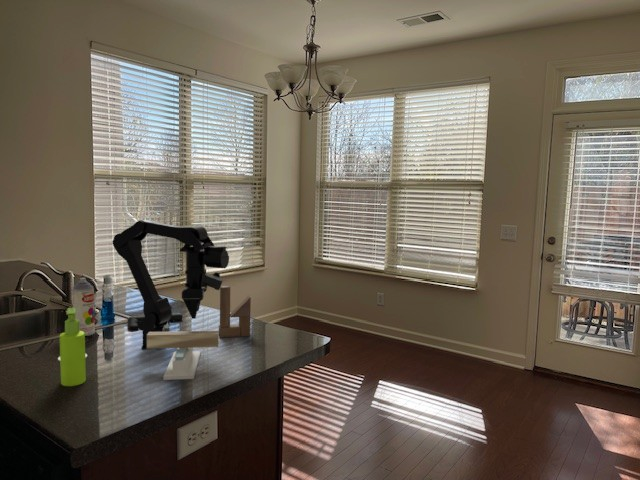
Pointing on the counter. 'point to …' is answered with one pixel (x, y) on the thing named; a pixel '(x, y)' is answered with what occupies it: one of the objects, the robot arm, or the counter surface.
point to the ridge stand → (182, 364)
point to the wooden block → (233, 315)
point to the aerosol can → (84, 306)
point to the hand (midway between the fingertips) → (195, 314)
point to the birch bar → (183, 339)
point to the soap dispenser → (72, 352)
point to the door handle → (135, 320)
